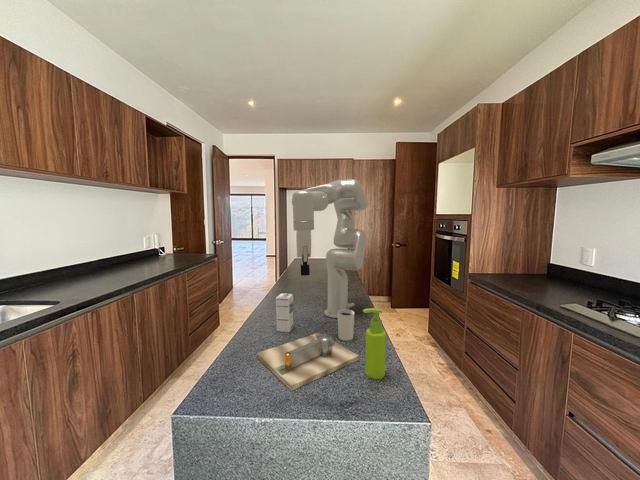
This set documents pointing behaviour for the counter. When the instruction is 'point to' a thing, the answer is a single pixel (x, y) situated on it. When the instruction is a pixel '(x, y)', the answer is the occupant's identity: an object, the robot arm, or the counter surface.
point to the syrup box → (284, 312)
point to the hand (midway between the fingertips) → (305, 274)
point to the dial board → (309, 368)
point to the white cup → (345, 324)
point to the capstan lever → (309, 351)
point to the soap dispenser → (375, 346)
